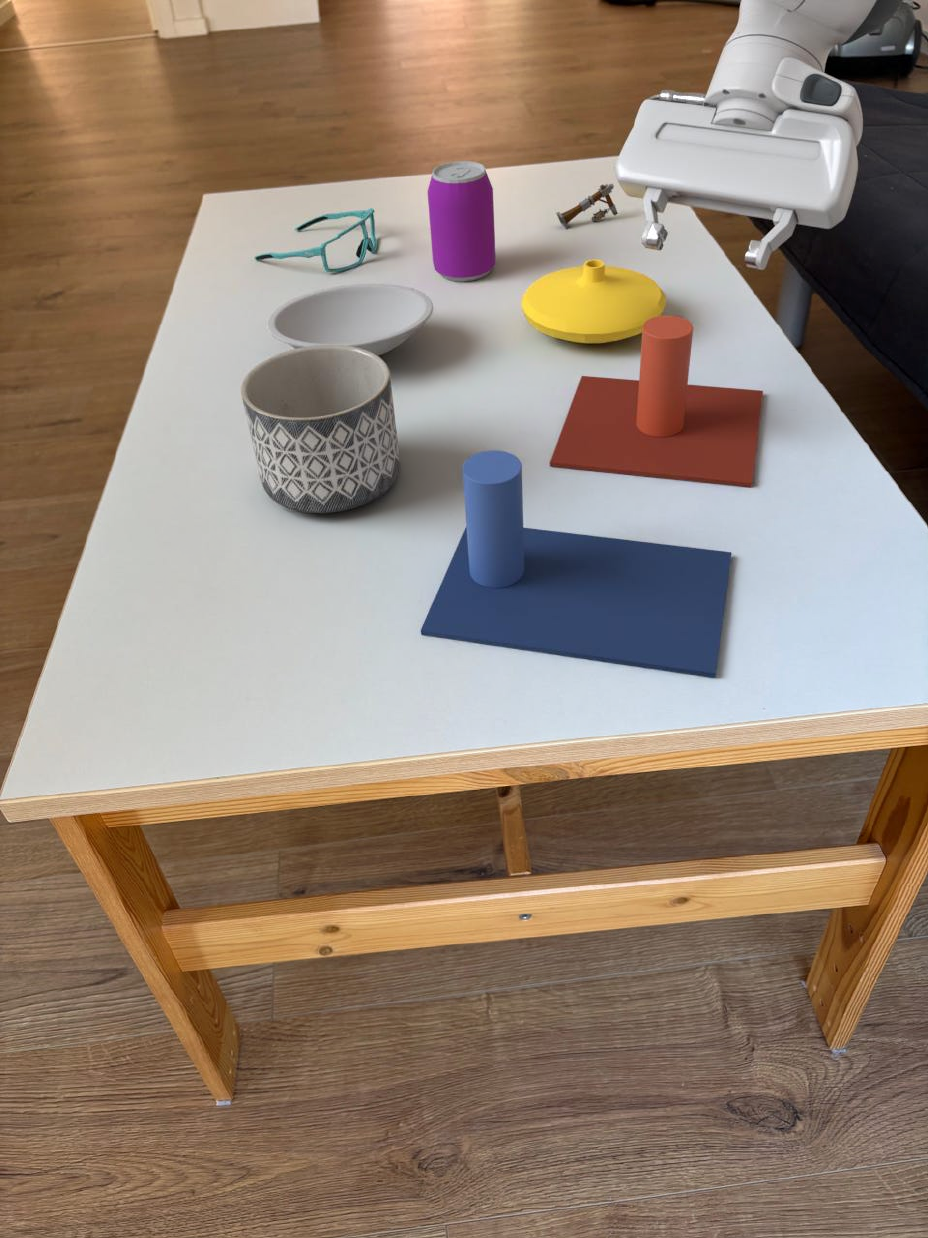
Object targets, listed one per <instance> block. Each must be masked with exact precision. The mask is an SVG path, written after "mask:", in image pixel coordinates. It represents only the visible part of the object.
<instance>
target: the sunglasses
mask: <svg viewBox="0 0 928 1238" xmlns="http://www.w3.org/2000/svg"><path fill="white" fill-rule="evenodd" d="M375 213H376V212H375V210H374V208H372V207H371V208H368V209H367V210H366V209H365V210H351V211H343V212H335V213H325V214H322V215H319V216H316V217H313V218H312V219H310V220H307V221H305V222H304V223H301V224H299V225H298V226H296V227H295V228H294V230H295V231H296V232H301V231H303V230H305V229H307V228H309V227H311V226H314V225H315V224H318V223H321V222H325V221H329V220H338V219H342V218H346V217H355V218H358V219H360V220H359V221H357V222H356V223H354V224H352V225H351V226H350V227H347V228H345V229H344V230H343V231H340V232H339V233H338V234H337V235H336V236H335V237H333V238H331V239H329V240H326V241H325V242H322V243H321V244H320V246H317V247H311V248H308V249H303V250H302V249H301V250H296V251H289V252H264V253H261V254H257V255H255V256H254V257H253V258H254V259H255V261H257V262H260V261H263V260H268V259H275V260H284V259H288V258H297V257H299V258H306V259H311V258H313V257H317V256H320V257H321V261H322V266H323V269H324V271H325V272H327V273H340V272H344V271H348V270H351V269H354V268H357V266H360V265H361V264H362V263H364V260H365V257H366V255H367V251H368V252H370V254H375V253H376V251H377V247H378V240H377V237H376V225H375V224H376V223H375V215H374V214H375ZM367 220H369V223H370V237H369V233H368V230H367V225H366V221H367ZM359 226H360V228H361V231H362V235H363V238H362V239H361V241H360V243H359V245H358V246H357V249H356V251H355V256H356V257H357V258H358V260H357V261H355V262H354V263H352V264H349V265H347V266H343V267H337V268H330V267H329V264H328V261H327V260H328V259H327V253H326V246H327V245H329V244H331V243H334V242H335V241H337V240H339V239H341V238H342V237H343V236H345V235H346V234H348V233H349V232H352V231H353V230H354V229H356V228H357V227H359Z"/></svg>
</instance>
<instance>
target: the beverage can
mask: <svg viewBox="0 0 928 1238" xmlns="http://www.w3.org/2000/svg"><path fill="white" fill-rule="evenodd" d="M431 173H432V174H431V177H430V180H429V184H428V188H427V203H428V212H429V213H428V215H429V217H428V218H429V227H430V238H431V239H430V241H431V253H432V263H433V267H434V271H435V272H437V273H438V274H439V275H440V276H441V277H442V278H443V279H446V280H448V281H453V282H472V281H476V280H479V279H481V278H484V277H486V276H487V275H488V274H489V273H490V272H491V271H492V270H493V269H494V267H495V265H496V234H495V233H496V232H495V210H494V188H493V185H492V182H491V180H490V178H489V175H488V173H487V169H486V167H485V165H483V164H482V163H479V162H476V161H469V160H459V161H458V160H457V161H450V162H444V163H443V164H440V165H438V166H435V167H434V168H433V170H432V172H431Z"/></svg>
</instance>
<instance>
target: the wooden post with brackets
mask: <svg viewBox="0 0 928 1238" xmlns="http://www.w3.org/2000/svg"><path fill="white" fill-rule="evenodd" d="M614 186H615V185H614V184H613V183H609V184H608V183H605V184H601V185H600V186H599V188H598V189H597V191H596V192H594V193H593V194H592V195H589V196H587V197H585V198H584V199H583V200H582V201H580V202H578V205H575V206H574V207H572V208H570V209H568V210H566V211H564V212H560V211H557V212H555V214H556V216H557V219H558V221H559V223H560V225H561V226H562V227H563V228H564V229H565V230H566V229H568V227H569V226H568V224H569V223H570V222H571V221H572V220H573V219H575V218H576V217H577V216H578V215H579V214H581V213H582V212H585V211H587V210H588V209H590V208H592V206H595V205H596V203H597V202H602V203H605V204H607V205H608V208H604V209H603V210H602V209H601V208H599V211H596V212H595V213H592V215H593V216H592V217H591V222H593V223H594V222H597V223H599V221H601V220H602V219H606V215H608V213H609V211H610V212H611V214H612V215H613V216H617V215H618V214H619V212H618V210H617V206H616V204H615V203H614V202H613V199H612V197H611V195H610V194H611V193H613V191H612V190H614ZM602 198H605V200H604V199H602Z"/></svg>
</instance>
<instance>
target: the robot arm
mask: <svg viewBox="0 0 928 1238" xmlns="http://www.w3.org/2000/svg"><path fill="white" fill-rule="evenodd" d="M903 2H904V0H740V5H739V11H738V21H737V24H736V27H735V29H734V30H733V32H732V34H731V35H730V36H729V37H728V40H727V41H726V42H725V45H723V49H722V52H721V54H720V57H719V58H718V62H717V65H716V67H715V70H714V73H713V75H712V78H711V81H710V84H709V86H708V89H707V91H706V93H702V92H701V93H700V92H681V91H677V90H673V89H662V90H661V91H660V93H658V94H654V95H652V96H650V97H648V98H647V99H644V100H643V102H642V103H641V104H640V107H639V109H638V112H637V114H636V117H635V120H634V125H633V127H632V129H631V130H630V132H629V134H628V136H627V138H626V140H625V142H624V144H623V146H622V148H621V151H620V153H619V155H618V157H617V160H616V162H615V165H614V175H615V178H616V181H617V182H618V184H619V186H620V188H621V189H622V191H623V192H624V194H625V195H626V196H627V197H629V198H637V199H642V203H643V209H644V214H645V220H646V225H645V227H644V231H643V233H642V235H641V244H642V245H643V247H644V249H648V250H653V251H662V250H663V248H664V242H666V240H667V237H668V235H669V233H668V230H666V227H665V225H664V224H663V223H660V222H659V216H658V213H660V214H664V212H665V210H666V208H667V205H668V204H673V205H680V206H686V207H691V208H692V207H693V208H698V209H704V210H710V211H716V212H721V213H728V214H733V215H734V214H735V215H740V216H747V217H752V218H758V219H765V220H771V221H772V222H773V225H774V227H772V229H770V231H769V232H768V233H767V234H766V235H765V236H764V237H763V238H762V239H761V240H756V239H751V240H750V243H749V245H748V251H746V253H745V256H744V263H745V265H746V266H745V267H747V268H751V269H757V270H761V271H764V270H765V269H766V267H767V265H768V263H769V260H770V257H771V254H772V252H775V251H776V250H778V248H779V247H780V246H781V245H783V244H784V243H785V242H786V241H787V240H788V239H789V238H790V237H792V236H793V233H794V231H795V228H796V225H802V226H807V227H814V228H819V229H825V230H830V229H833V228H834V227H836V226H837V225H838V224H839V223H841V222H842V221H843V220H844V219H845V218H846V215H847V212H848V211H849V210H848V209H849V207H850V204H851V200H852V197H853V193H854V190H855V186H856V182H857V176H858V171H859V160H858V159H859V158H858V151H857V146H858V145H859V143H860V142H861V139H862V135H863V129H864V127H863V126H864V118H863V111H862V105H861V102H860V98H859V95H858V92H857V91H856V88H854V86H853V85H851V84H850V83H848V82H845V81H842V80H840V79H838V78H836V77H834V76H832V75H829V74H828V73H825V72H826V71H825V70H826V63H827V60H828V57H829V55H830V52H831V51H832V49H833V48H834V47H835V46H837V45H841V46H845V45H848V44H850V43H852V42H855V41H858V40H859V39H860V38H863V37H865V36H866V35H868V34H871V33H873V32H875V31H877V30H879V29H881V28H882V27H883V26H885V25H886V24H887V23H888V22H890V20H891V19H892V18H893V16H894V15H895V14H896V13H897V11H898V10H899V9H900V7H901V6H902V3H903Z"/></svg>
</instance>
